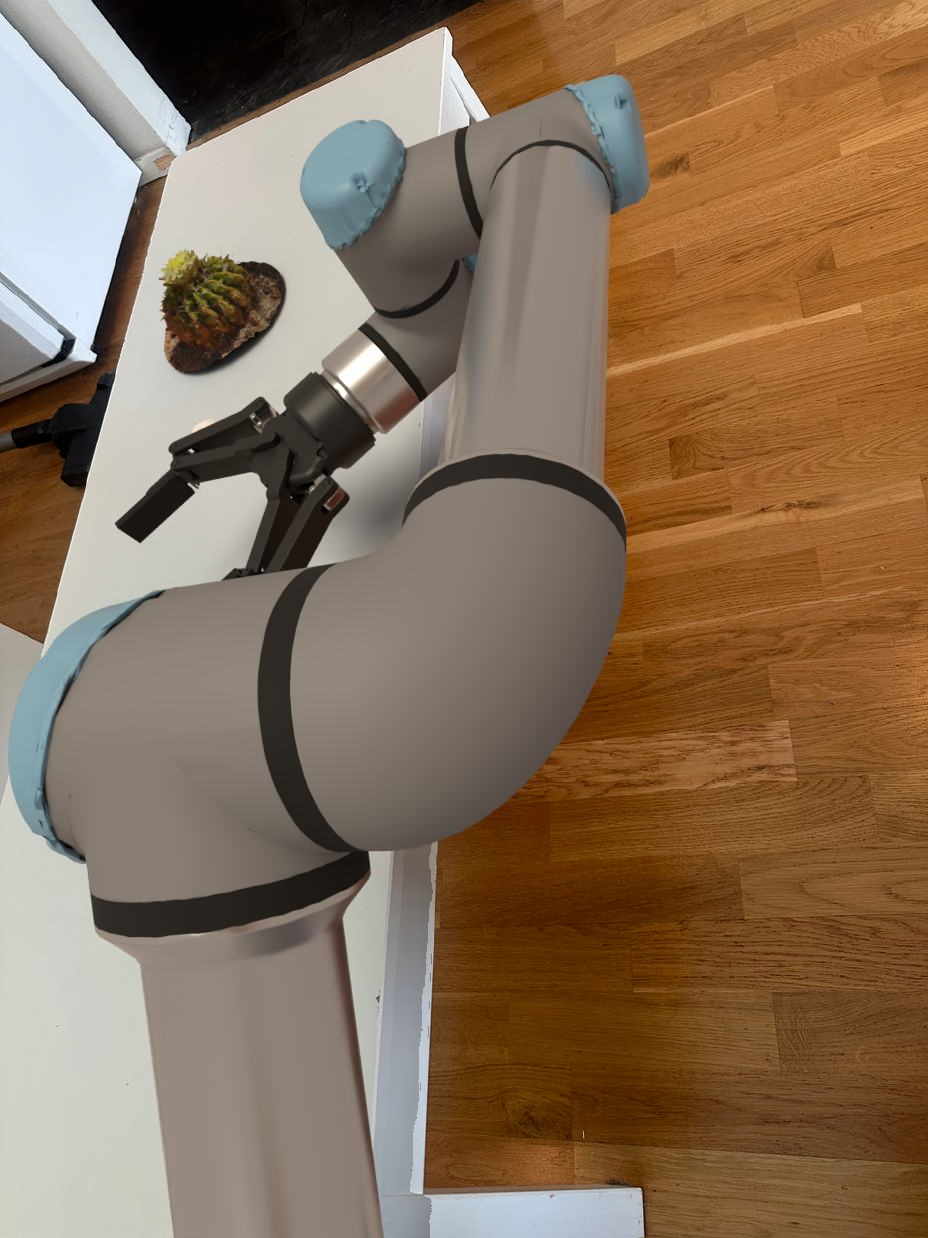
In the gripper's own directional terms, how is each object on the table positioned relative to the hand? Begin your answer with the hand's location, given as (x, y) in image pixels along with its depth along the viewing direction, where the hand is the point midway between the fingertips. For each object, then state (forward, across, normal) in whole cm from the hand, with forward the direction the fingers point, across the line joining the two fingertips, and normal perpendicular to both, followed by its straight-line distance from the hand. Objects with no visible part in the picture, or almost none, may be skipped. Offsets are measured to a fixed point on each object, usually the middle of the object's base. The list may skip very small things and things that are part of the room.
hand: (154, 582), depth 68 cm
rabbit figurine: (-9, +24, -14) cm, 29 cm away
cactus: (-18, +42, -14) cm, 48 cm away
